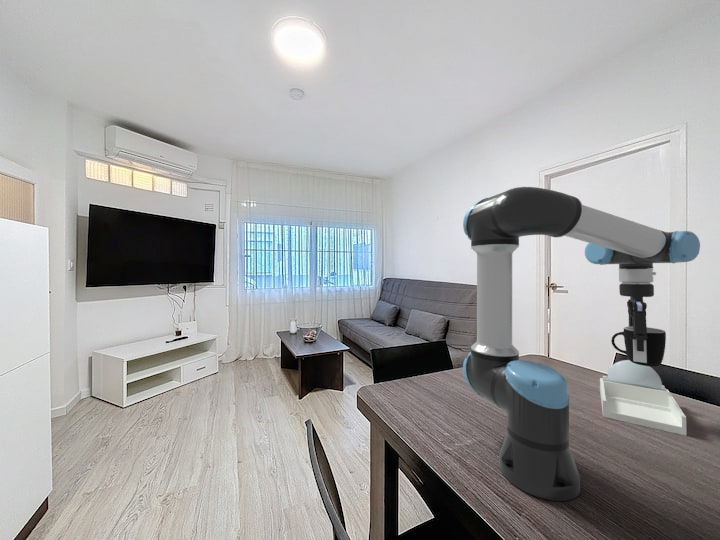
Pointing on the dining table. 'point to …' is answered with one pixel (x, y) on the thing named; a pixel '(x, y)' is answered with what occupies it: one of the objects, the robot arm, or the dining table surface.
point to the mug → (653, 345)
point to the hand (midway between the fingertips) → (637, 357)
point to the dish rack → (642, 406)
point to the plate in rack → (634, 375)
